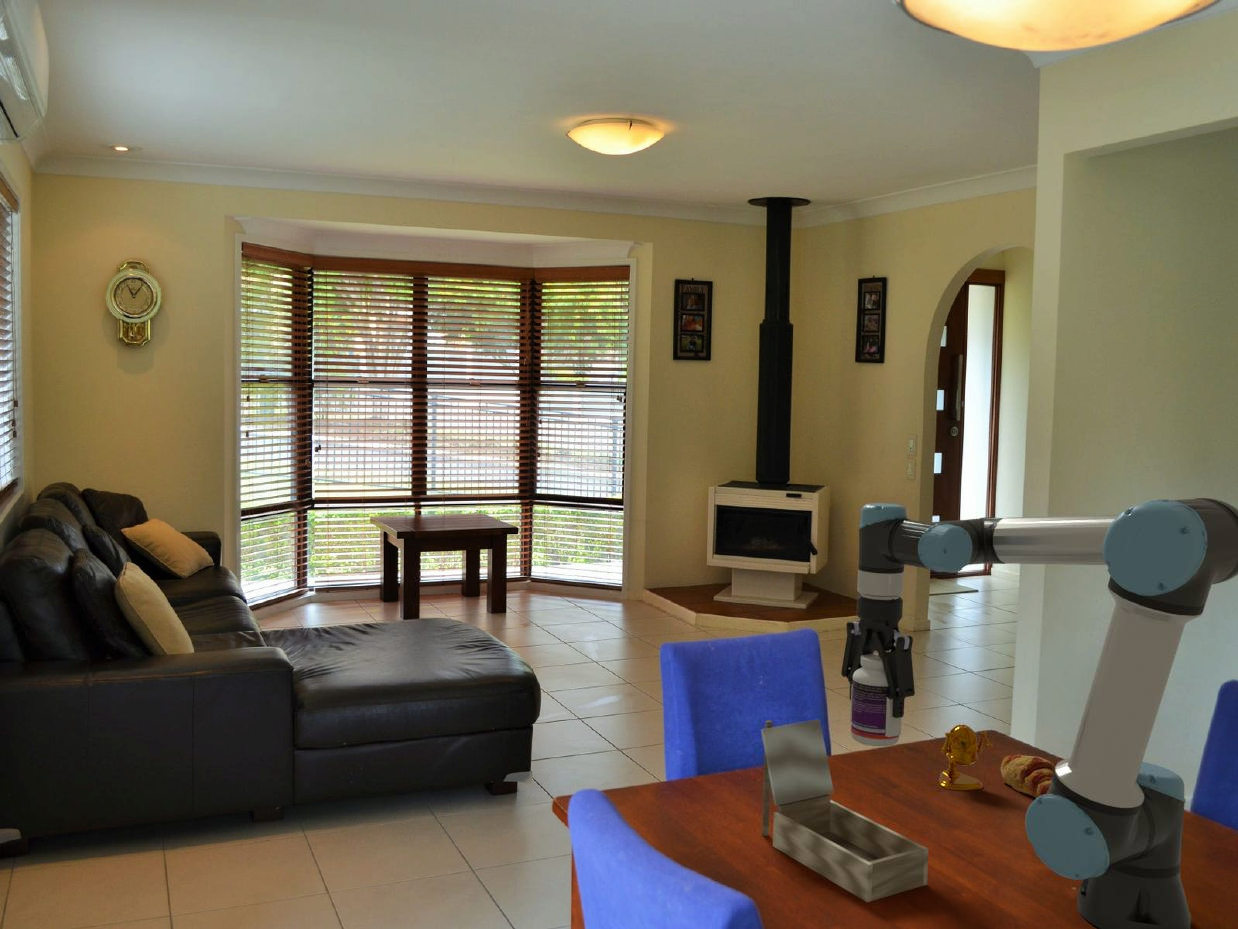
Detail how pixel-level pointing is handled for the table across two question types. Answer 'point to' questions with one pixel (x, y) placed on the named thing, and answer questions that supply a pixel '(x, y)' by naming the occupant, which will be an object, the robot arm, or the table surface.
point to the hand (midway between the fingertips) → (875, 728)
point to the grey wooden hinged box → (830, 820)
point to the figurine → (961, 758)
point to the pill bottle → (870, 703)
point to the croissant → (1027, 774)
